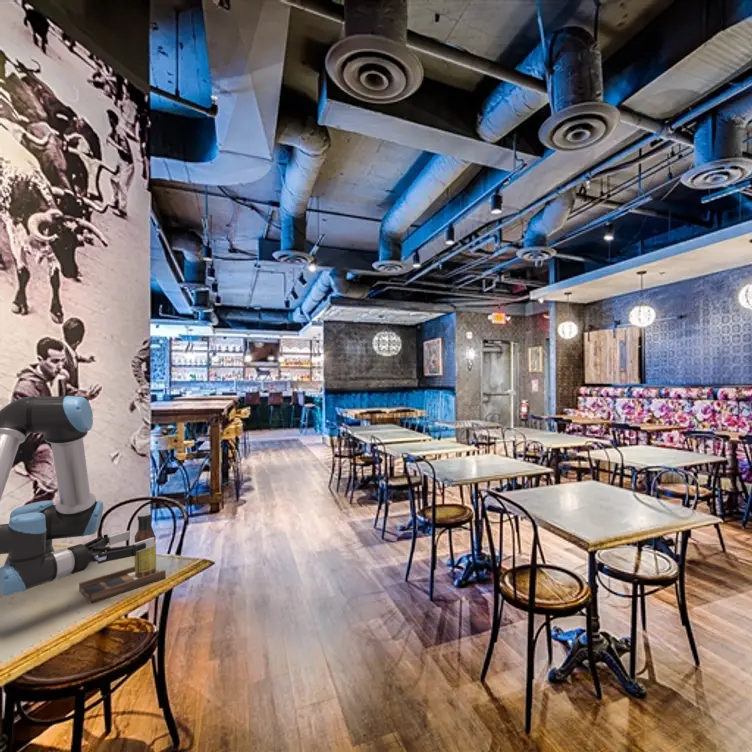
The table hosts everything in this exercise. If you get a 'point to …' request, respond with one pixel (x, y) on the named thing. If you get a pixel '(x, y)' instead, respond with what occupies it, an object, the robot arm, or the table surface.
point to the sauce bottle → (146, 557)
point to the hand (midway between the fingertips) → (141, 538)
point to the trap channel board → (116, 584)
